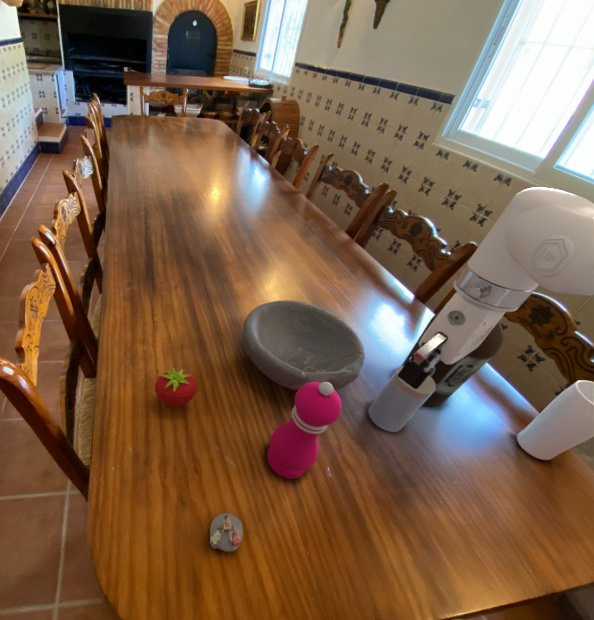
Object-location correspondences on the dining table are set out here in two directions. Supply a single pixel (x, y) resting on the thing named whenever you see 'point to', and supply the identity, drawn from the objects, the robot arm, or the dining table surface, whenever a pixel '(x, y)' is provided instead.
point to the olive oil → (460, 365)
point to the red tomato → (175, 387)
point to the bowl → (302, 345)
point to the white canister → (400, 401)
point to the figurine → (226, 532)
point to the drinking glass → (561, 423)
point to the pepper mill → (303, 429)
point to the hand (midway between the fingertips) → (424, 371)
